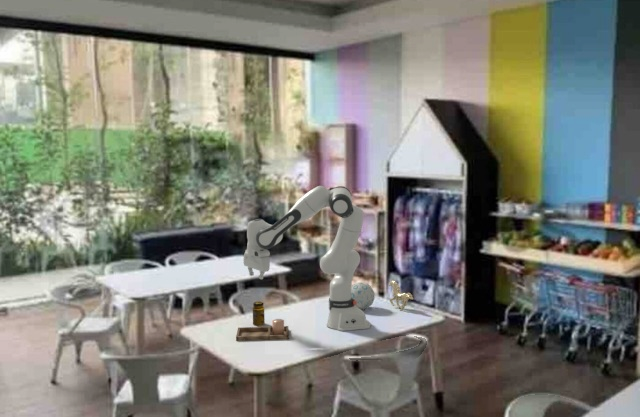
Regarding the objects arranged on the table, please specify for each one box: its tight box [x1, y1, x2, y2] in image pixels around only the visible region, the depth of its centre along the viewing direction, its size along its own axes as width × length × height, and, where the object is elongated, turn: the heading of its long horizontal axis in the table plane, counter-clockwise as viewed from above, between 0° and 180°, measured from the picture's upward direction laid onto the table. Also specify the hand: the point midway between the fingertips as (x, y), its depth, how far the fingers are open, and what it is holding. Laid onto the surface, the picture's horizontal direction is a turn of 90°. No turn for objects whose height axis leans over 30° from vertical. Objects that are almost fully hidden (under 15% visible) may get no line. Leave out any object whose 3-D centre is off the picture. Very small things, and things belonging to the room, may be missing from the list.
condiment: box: [252, 301, 266, 327], centre depth 297 cm, size 7×8×12 cm
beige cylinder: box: [271, 318, 285, 335], centre depth 280 cm, size 6×6×7 cm
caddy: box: [235, 325, 290, 342], centre depth 280 cm, size 25×14×2 cm, turn 94°
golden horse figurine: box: [388, 277, 414, 311], centre depth 324 cm, size 20×4×17 cm, turn 35°
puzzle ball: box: [351, 282, 375, 310], centre depth 325 cm, size 15×15×15 cm
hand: (256, 277), depth 295 cm, fingers open, 8 cm apart
